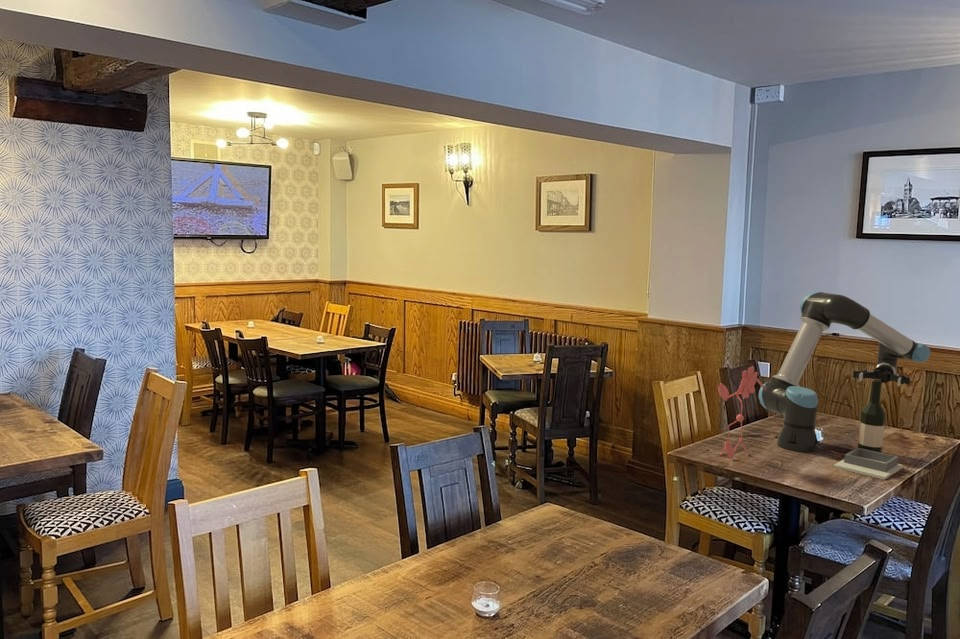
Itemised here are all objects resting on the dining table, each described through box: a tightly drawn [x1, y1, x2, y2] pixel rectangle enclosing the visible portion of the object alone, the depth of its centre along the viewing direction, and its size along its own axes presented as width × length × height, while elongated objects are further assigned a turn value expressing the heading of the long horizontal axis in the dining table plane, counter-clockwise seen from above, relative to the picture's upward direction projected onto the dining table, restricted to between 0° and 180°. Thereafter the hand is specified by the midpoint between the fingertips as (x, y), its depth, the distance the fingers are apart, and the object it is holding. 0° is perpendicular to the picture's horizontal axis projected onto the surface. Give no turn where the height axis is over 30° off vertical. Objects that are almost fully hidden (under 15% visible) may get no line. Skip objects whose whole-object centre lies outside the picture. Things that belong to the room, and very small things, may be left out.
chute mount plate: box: [833, 447, 904, 481], centre depth 261 cm, size 21×17×4 cm
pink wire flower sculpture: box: [709, 365, 766, 460], centre depth 265 cm, size 15×26×35 cm, turn 130°
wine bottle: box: [857, 379, 887, 453], centre depth 276 cm, size 8×8×30 cm
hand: (879, 380), depth 282 cm, fingers open, 13 cm apart
